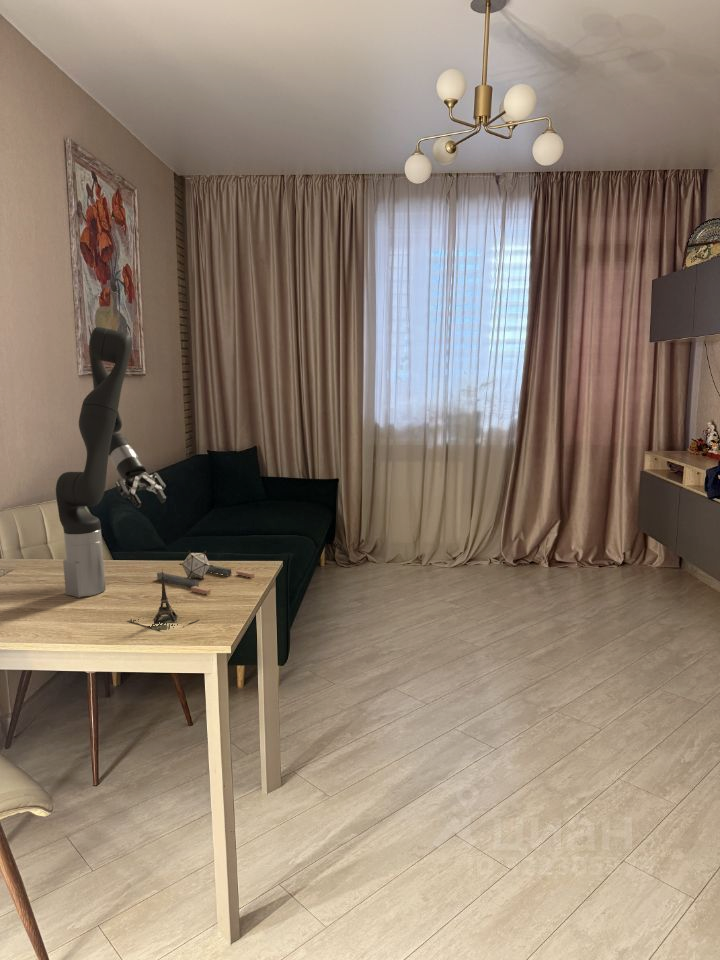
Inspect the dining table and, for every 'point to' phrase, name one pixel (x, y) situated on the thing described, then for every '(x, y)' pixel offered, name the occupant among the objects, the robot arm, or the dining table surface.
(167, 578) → the chute
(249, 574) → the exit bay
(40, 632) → the dining table surface
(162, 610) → the eiffel tower figurine
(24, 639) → the dining table surface
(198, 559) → the game die
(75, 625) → the dining table surface
